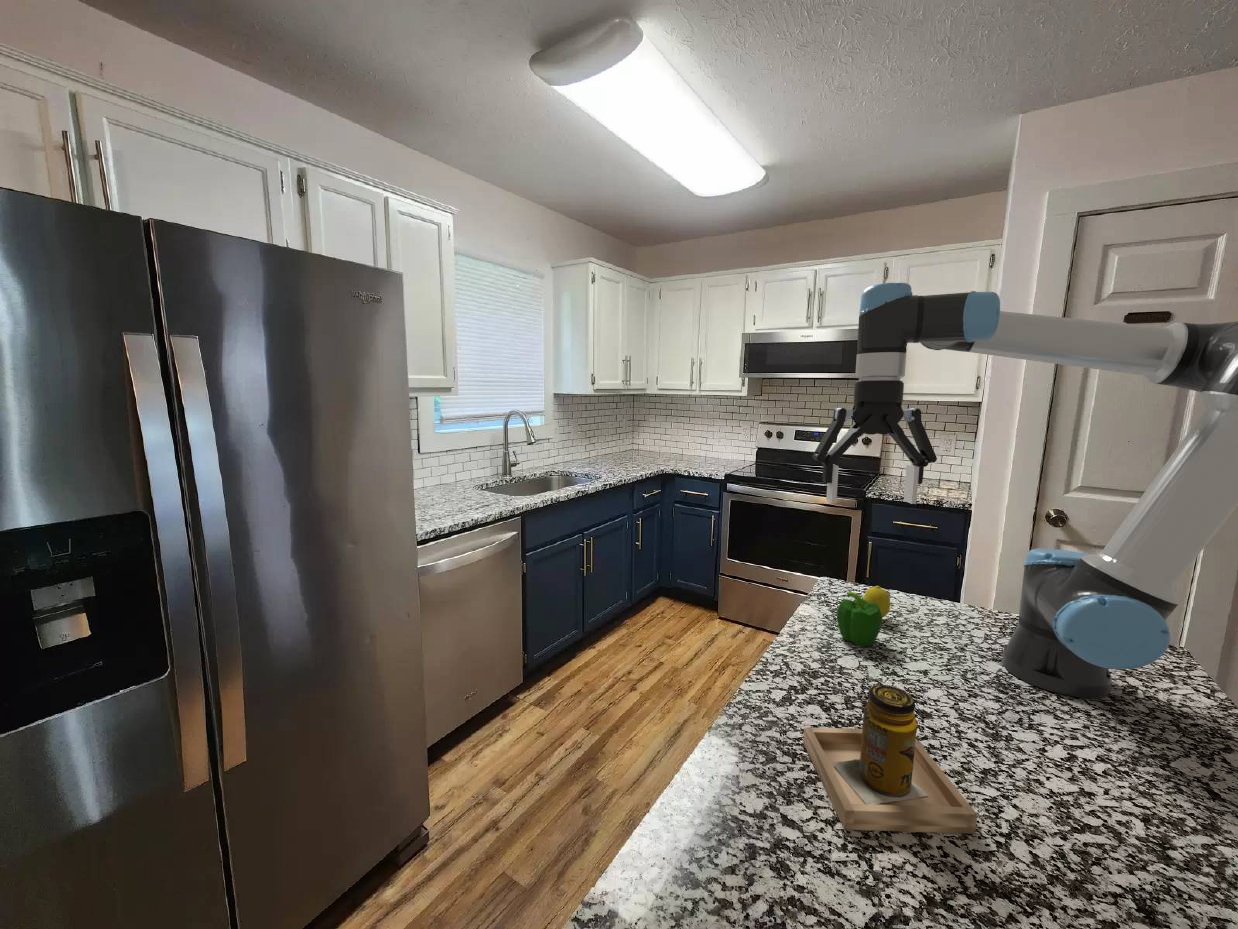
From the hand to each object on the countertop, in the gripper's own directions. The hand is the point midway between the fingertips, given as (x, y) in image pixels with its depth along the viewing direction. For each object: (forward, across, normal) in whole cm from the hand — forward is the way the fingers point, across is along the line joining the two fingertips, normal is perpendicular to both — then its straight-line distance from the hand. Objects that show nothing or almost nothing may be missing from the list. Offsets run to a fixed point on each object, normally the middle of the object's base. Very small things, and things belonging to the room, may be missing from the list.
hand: (870, 502), depth 90 cm
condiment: (+31, +10, +28) cm, 43 cm away
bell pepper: (+32, -5, -12) cm, 34 cm away
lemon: (+32, -13, -22) cm, 41 cm away
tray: (+32, +9, +28) cm, 43 cm away
